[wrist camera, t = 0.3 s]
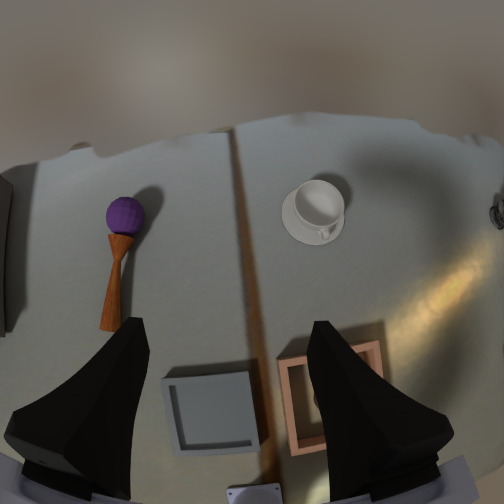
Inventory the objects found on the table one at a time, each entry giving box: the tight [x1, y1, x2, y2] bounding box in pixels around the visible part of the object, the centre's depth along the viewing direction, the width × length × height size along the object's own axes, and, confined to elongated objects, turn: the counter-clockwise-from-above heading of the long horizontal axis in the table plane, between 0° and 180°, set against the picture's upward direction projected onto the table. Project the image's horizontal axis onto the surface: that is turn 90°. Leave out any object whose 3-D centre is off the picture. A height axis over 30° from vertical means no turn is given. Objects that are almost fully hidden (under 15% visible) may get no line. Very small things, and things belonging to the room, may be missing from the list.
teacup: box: [282, 180, 345, 245], centre depth 43 cm, size 10×10×5 cm
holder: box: [276, 340, 383, 456], centre depth 36 cm, size 14×14×4 cm
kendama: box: [100, 197, 144, 332], centre depth 41 cm, size 6×6×20 cm
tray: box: [161, 370, 260, 457], centre depth 36 cm, size 12×12×2 cm
